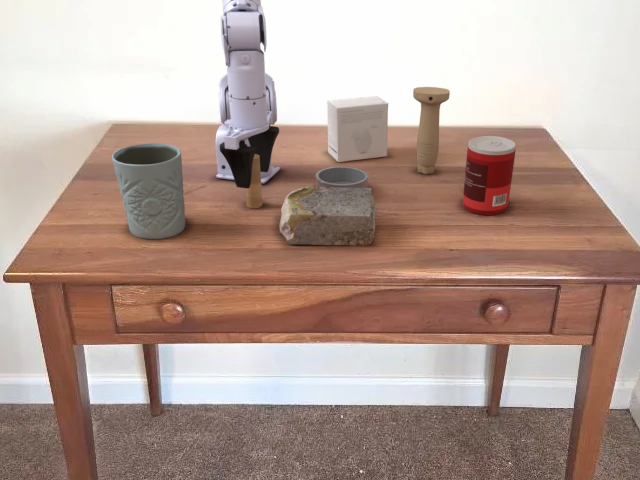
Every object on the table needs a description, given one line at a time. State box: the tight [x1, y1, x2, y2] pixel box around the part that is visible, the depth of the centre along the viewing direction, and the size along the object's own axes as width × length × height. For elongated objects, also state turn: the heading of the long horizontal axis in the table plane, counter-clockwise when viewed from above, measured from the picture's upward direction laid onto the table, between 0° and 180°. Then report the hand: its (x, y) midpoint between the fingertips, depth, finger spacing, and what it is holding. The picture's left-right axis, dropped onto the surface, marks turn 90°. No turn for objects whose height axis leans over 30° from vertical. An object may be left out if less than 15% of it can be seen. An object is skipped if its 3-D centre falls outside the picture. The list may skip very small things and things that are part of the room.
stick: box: [245, 154, 263, 209], centre depth 122 cm, size 3×3×8 cm
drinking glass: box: [111, 142, 186, 240], centre depth 114 cm, size 10×10×12 cm
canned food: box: [462, 135, 517, 216], centre depth 123 cm, size 8×8×11 cm
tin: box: [315, 166, 369, 189], centre depth 130 cm, size 9×9×3 cm
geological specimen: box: [278, 185, 377, 247], centre depth 115 cm, size 11×6×15 cm
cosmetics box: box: [326, 95, 389, 163], centre depth 144 cm, size 10×6×10 cm, turn 111°
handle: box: [412, 86, 451, 175], centre depth 135 cm, size 5×6×15 cm
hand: (252, 179), depth 122 cm, fingers open, 7 cm apart
